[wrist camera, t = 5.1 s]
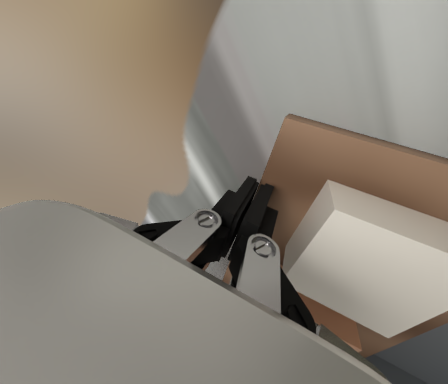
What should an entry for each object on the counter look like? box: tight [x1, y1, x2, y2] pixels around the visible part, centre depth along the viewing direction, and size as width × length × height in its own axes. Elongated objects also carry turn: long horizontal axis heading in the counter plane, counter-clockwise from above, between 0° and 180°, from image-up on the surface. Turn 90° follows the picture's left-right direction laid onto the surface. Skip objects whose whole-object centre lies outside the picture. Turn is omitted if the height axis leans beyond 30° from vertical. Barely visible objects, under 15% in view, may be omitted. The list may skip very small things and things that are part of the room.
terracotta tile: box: [280, 265, 362, 352], centre depth 13 cm, size 6×6×3 cm
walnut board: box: [222, 114, 448, 358], centre depth 13 cm, size 18×13×2 cm
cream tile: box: [282, 180, 448, 338], centre depth 9 cm, size 6×6×3 cm
